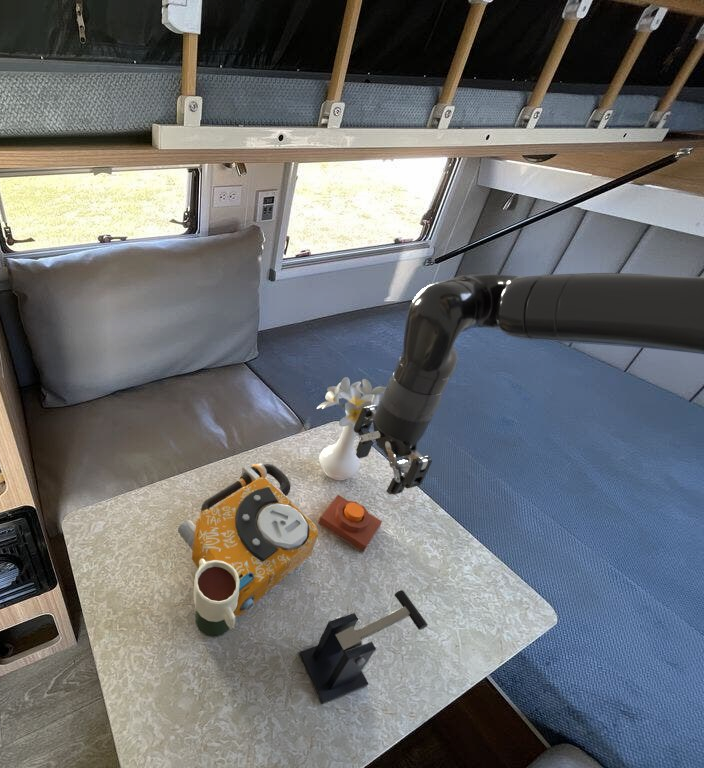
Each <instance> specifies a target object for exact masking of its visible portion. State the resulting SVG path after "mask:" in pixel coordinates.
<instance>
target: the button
mask: <svg viewBox="0 0 704 768" xmlns="http://www.w3.org/2000/svg"><path fill="white" fill-rule="evenodd" d="M357 503H358V502H357ZM357 503H348V504H347V505H346V508H345V510H344V515H345V517H346V518H347V519H348V520H350V521H352V522H359V521H361V520H362V517H363V515H364V509H363V508H362V507H361V506H360V505H361V504H360V503H359V504H360V505H359V504H357Z"/></svg>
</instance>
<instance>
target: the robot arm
mask: <svg viewBox="0 0 704 768" xmlns="http://www.w3.org/2000/svg"><path fill="white" fill-rule="evenodd" d="M481 328H482V329H485V328H486V329H495V330H500V331H501V332H502V333H503V334H505V335H506V336H508V337H511V338H516V339H520V340H530V341H541V342H542V341H543V342H544V341H545V342H555V343H570V344H583V345H585V344H586V345H601V346H613V347H628V348H640V349H651V350H662V351H672V352H682V353H689V354H698V355H704V276H681V275H680V276H679V275H664V274H663V275H661V274H648V273H647V274H646V273H625V272H588V273H587V272H584V273H581V272H580V273H579V272H578V273H559V274H557V273H556V274H538V275H529V276H519V275H513V274H512V275H511V274H495V273H476V274H475V273H473V274H465V275H458V276H456V277H452V278H447V279H446V280H443V281H442V280H441V281H438V282H434V283H432V284H429V285H427V286H426V287H424V288H422V289H421V290H420V291H419V292H418V293H417V294H416V296H414V299H413V300H412V302H411V303H410V306H409V308H408V310H407V313H406V318H405V325H404V333H403V346H402V347H403V348H402V352H401V355H400V356H399V359H398V361H397V364H396V366H395V369H394V370H393V373H392V375H391V377H390V379H389V380H388V382H387V383H386V386H385V391H384V393H383V394H382V395H381V396H382V398H381V401H380V400H379V406H378V407H377V406H376V405H374V406H368V407H364V408H362V410H361V413H360V415H359V417H358V419H357V422H356V424H355V426H354V431H355V432H356V433H358V434H359V436H358V440H359V441H358V444H357V446H356V449H355V452H356V456H357V457H358V458H359V459H362V458H366V457H368V456H369V455H370V452H371V450H372V447H373V445H374V441H373V440H375V442H376V446H377V447H378V448H379V449H381V450H382V452H383V453H384V454H385V456H386V457H387V458H388V463H389V467H390V468H391V469H392V473H393V478H392V479H391V481H390V483H389V485H388V487H387V488H386V492H387V494H388V495H389V496H390V495H397V494H401V493H403V491H404V490H405V489H412V488H416V487H419V486H421V485H422V484H423V482H424V479H425V478H426V475H427V474H428V471H429V469H430V467H431V465H432V462H433V459H432V458H431V456H429V455H425V456H423V455H422V454H421V453H420V452H419V451H418V443H419V442H420V440H421V439H422V438H423V436H424V435H425V433H426V431H427V429H428V427H429V425H430V423H431V421H432V419H433V417H434V415H435V414H436V412H437V410H438V408H439V406H440V404H441V400H442V399H443V395H444V392H445V391H446V388H447V386H448V384H449V382H450V380H451V378H452V377H453V374H454V372H455V370H456V369H457V366H458V361H459V355H458V352H457V350H455V348H454V345H455V342H456V340H457V338H458V337H459V336H460V334H461V333H463V332H466V331H468V330H470V329H481ZM372 422H373V425H371V424H372ZM371 426H373V431H371V432H370V428H371ZM398 458H403V459H402V460H399V461H398ZM402 471H403V472H402Z"/></svg>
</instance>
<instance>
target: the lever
mask: <svg viewBox="0 0 704 768" xmlns="http://www.w3.org/2000/svg"><path fill="white" fill-rule="evenodd" d="M394 597H395V598H396V600H397V601H398V602H399V604H400V605H401V607H399V608H398V609H397V610H394V611H393V612H390V613H388V614H386V615H384V616H383V617H380V618H379V619H376V620H375V621H372V622H370V623H369V624H366V625H365V626H362V627H361V628H360V627H359V629H355V627H354V628H353V626H351V627H349V628H347V629H345V630H343V631H341V632H339V633H337V634H335V636H336V639H337V641H338V643H339V645H340V647H341V649H342V650H343V652H345V651H347V650H350V649H353V648H355V647H358V646H361V645H363V643H362V640H365V639H367V638H369V637H370V636H373V635H375V634H377V633H378V632H381V631H382V630H385V629H387V628H389V627H391V626H393V625H394V624H398V622H400V621H403V620H405V619H407V618H410V619H411V621H412V622H413V623H414V625H415V626H416V628H417V630H419V631H421V630H424V629H426V628H427V627H428V626H429V624H428V623H427V621H426V619H424V617H423V616H422V614H421V613H420V612H419V610H418V609H417V607H416V606H415V604H414V603H413V602H412V601H411V599H410V598H409V596H408V595H407V593H406V592H405V591H404V590H403V589H400V590H397V591H396V592H395V593H394Z"/></svg>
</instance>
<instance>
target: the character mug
mask: <svg viewBox="0 0 704 768" xmlns="http://www.w3.org/2000/svg"><path fill="white" fill-rule="evenodd" d="M239 583H240V580H239V576H238V573H237V571H236V570H235V569H234V568H233V567H232V566H231V565H230V564H228V563H226V562H224V561H219V560H212V561H207V562H206V561H205V560H204V559H200V561H199V568H198V569H197V571H196V572H195V575H194V582H193V603H194V607H195V614H194V615H195V617H194V618H195V624H196V626H197V629H198V631H200V633H202V634H203V635H205V636H206V637H210V638H211V637H212V638H217V637H221V636H223V635H225V634H226V633H227V632H228V631H229V629H233V628H234V627H235V625H236V616H235V615H234V613H233V612H234V611H235V609H236V607H237V601H238V596H239Z"/></svg>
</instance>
